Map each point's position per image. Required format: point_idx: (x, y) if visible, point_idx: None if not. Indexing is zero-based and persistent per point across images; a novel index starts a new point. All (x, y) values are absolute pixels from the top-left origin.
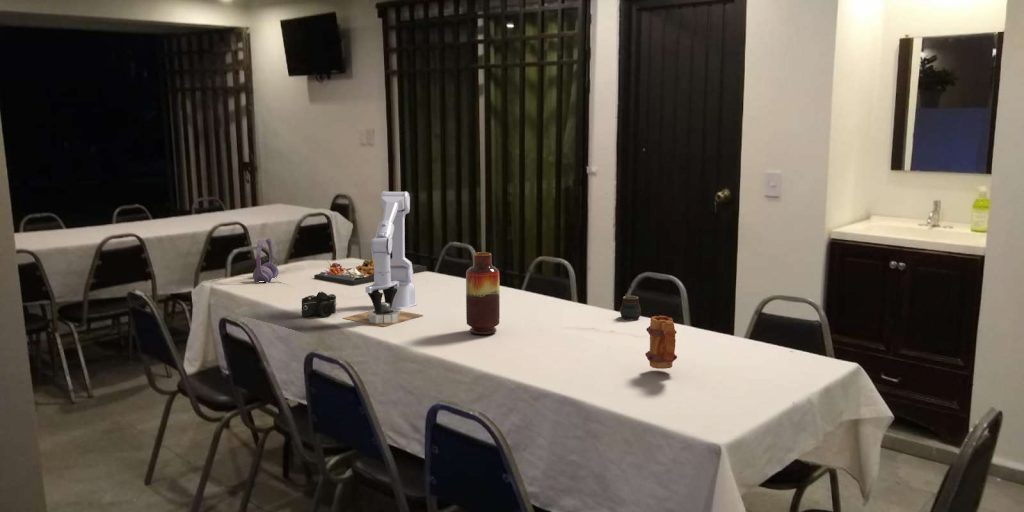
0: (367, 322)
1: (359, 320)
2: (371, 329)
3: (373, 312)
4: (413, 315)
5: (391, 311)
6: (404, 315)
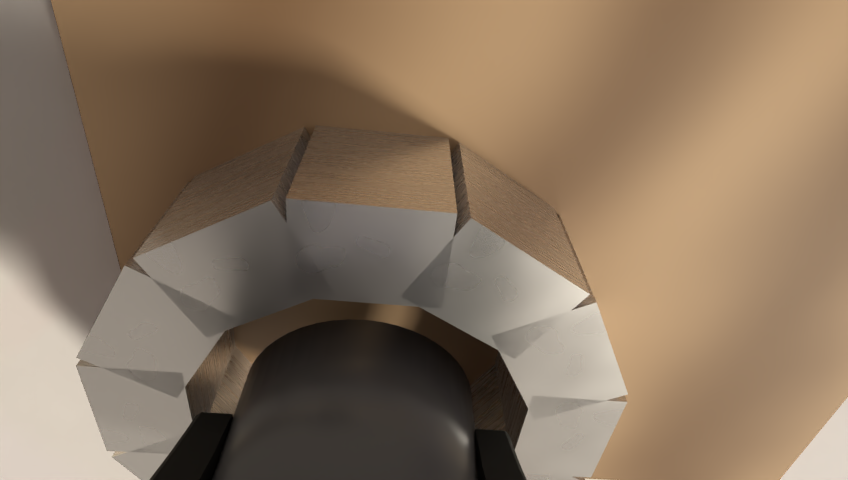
0: (124, 249)
1: (106, 56)
2: (7, 413)
3: (275, 300)
4: (725, 443)
5: (510, 434)
6: (701, 383)
